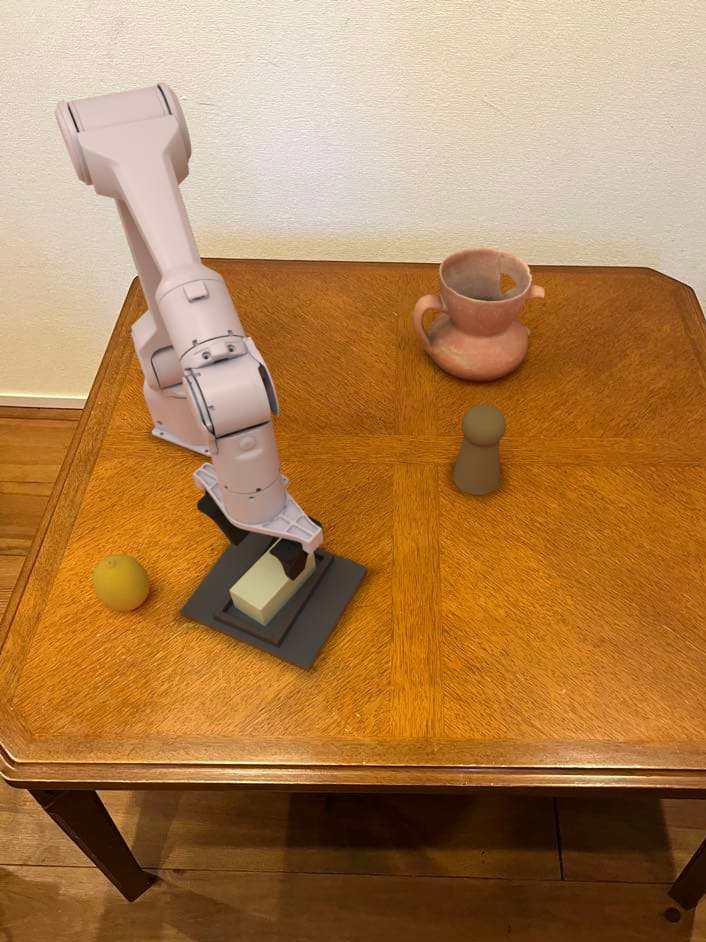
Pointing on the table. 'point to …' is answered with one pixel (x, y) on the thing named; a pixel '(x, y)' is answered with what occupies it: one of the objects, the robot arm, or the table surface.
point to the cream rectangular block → (268, 587)
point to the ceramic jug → (478, 315)
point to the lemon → (120, 582)
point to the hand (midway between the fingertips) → (268, 555)
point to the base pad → (298, 621)
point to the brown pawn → (480, 450)
